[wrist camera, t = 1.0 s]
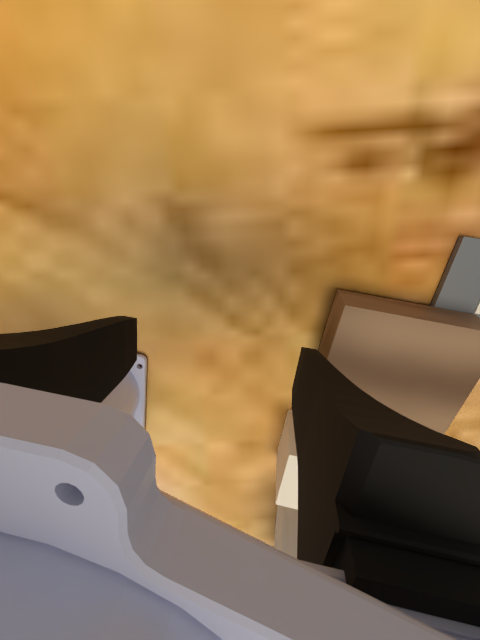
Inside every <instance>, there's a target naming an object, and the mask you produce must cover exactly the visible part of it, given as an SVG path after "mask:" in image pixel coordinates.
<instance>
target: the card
mask: <svg viewBox="0 0 480 640" xmlns="http://www.w3.org/2000/svg"><path fill="white" fill-rule="evenodd" d="M430 306H432V307H437V308H443V309H448V310H453V311H459V312H464V313H470V314H475V315H477V316H478V317H480V239H477V238H470V237H464V236H459V238H458V240H457V243H456V245H455V247H454V250H453V252H452V255H451V257H450V259H449V262H448V264H447V267H446V269H445V271H444V274H443V276H442V278H441V281H440V283H439V286H438V288H437V290H436V293H435V295H434V298H433V300H432V302H431V305H430Z"/></svg>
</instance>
